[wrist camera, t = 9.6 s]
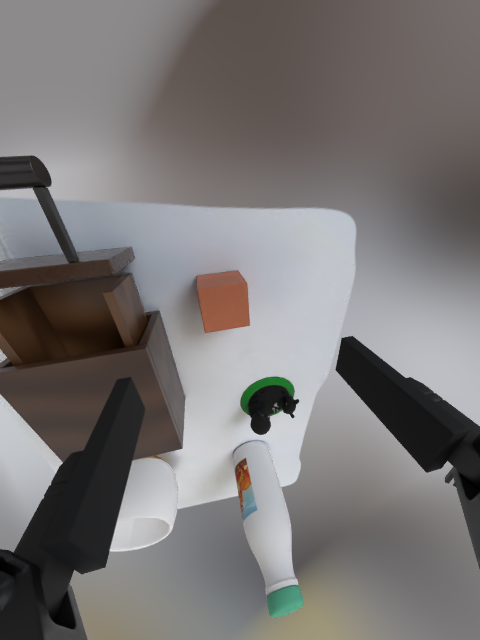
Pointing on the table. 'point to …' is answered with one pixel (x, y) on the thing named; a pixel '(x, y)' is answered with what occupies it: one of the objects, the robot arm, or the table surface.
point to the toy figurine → (268, 402)
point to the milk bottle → (267, 525)
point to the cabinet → (100, 393)
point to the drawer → (64, 288)
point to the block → (223, 301)
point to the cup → (146, 505)
